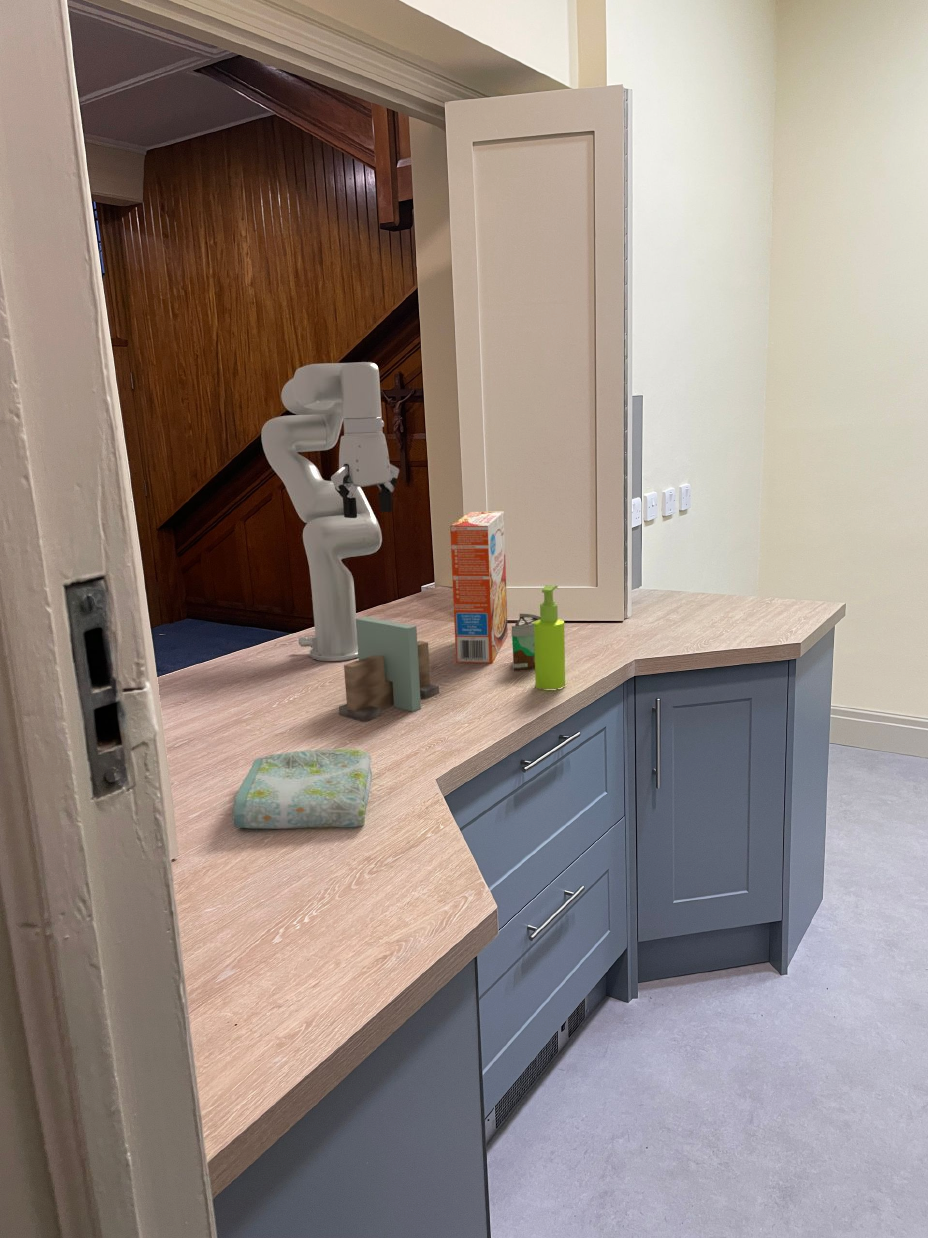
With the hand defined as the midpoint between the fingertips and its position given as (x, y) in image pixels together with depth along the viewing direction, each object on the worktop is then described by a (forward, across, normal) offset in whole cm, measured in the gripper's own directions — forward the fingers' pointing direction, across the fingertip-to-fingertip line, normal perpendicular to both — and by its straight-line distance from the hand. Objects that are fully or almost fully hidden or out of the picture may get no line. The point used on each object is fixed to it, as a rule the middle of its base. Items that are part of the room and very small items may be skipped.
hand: (368, 514), depth 189 cm
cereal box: (+34, -30, +3) cm, 46 cm away
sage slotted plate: (+34, +10, +14) cm, 38 cm away
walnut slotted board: (+34, +10, +14) cm, 38 cm away
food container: (+34, -25, +21) cm, 47 cm away
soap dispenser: (+34, -16, +32) cm, 50 cm away
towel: (+35, +48, +36) cm, 69 cm away
